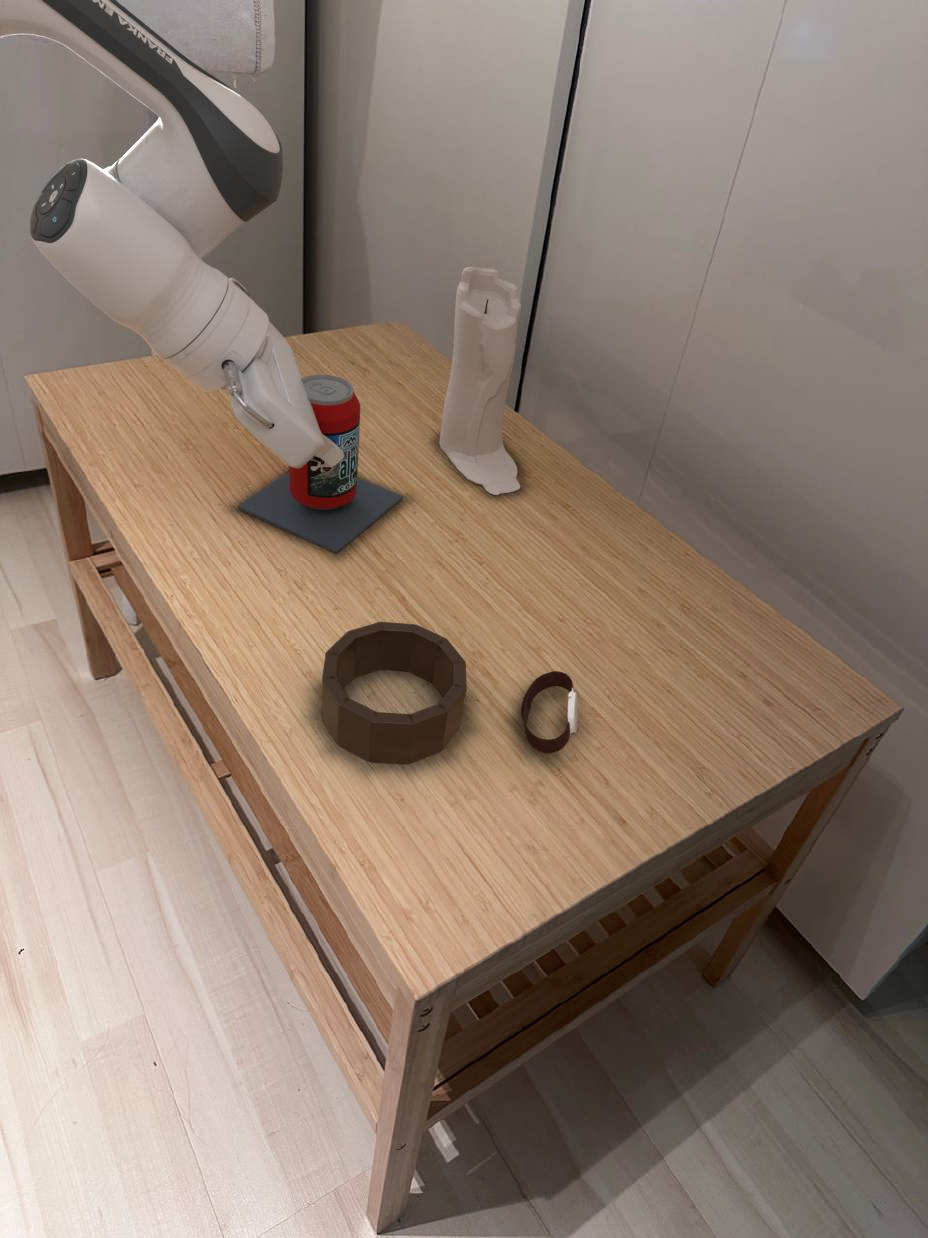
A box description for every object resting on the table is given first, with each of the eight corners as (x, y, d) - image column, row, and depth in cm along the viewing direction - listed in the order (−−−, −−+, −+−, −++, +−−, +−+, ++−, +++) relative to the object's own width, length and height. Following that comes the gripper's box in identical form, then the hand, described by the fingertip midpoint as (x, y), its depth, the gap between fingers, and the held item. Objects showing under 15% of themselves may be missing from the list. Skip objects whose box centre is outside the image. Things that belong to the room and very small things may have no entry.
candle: (478, 498, 93) (507, 316, 80) (429, 434, 102) (448, 261, 89) (537, 489, 95) (574, 312, 82) (484, 428, 105) (510, 259, 92)
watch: (572, 765, 66) (582, 734, 64) (512, 752, 67) (520, 721, 64) (579, 695, 72) (588, 664, 70) (524, 683, 72) (531, 652, 70)
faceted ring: (294, 722, 66) (294, 681, 63) (371, 644, 74) (374, 604, 71) (414, 786, 63) (420, 746, 60) (482, 697, 71) (490, 658, 68)
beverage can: (328, 523, 84) (331, 412, 77) (275, 497, 87) (272, 387, 79) (369, 495, 89) (375, 387, 81) (317, 471, 91) (319, 364, 84)
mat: (237, 509, 86) (237, 505, 86) (309, 460, 94) (309, 456, 94) (337, 554, 83) (337, 550, 82) (402, 499, 91) (403, 495, 91)
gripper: (259, 369, 66) (377, 471, 76) (232, 270, 81) (334, 367, 90) (203, 423, 68) (325, 517, 77) (186, 317, 82) (291, 407, 91)
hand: (330, 435), depth 84 cm, fingers closed on beverage can, 7 cm apart
